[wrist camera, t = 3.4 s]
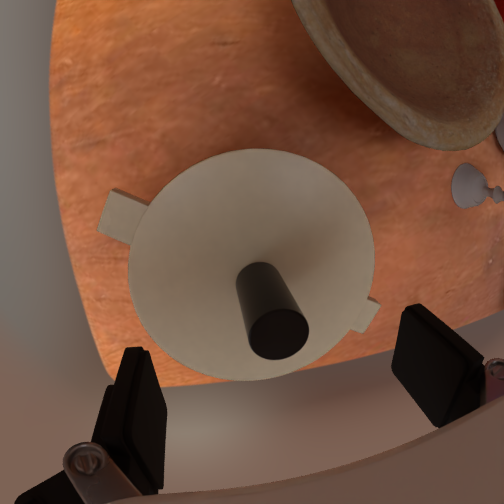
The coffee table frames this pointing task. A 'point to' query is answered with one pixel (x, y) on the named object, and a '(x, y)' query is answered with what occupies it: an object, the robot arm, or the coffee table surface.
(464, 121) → the bowl
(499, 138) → the can
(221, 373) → the lid
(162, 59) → the coffee table surface
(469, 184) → the chalice
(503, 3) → the apple
